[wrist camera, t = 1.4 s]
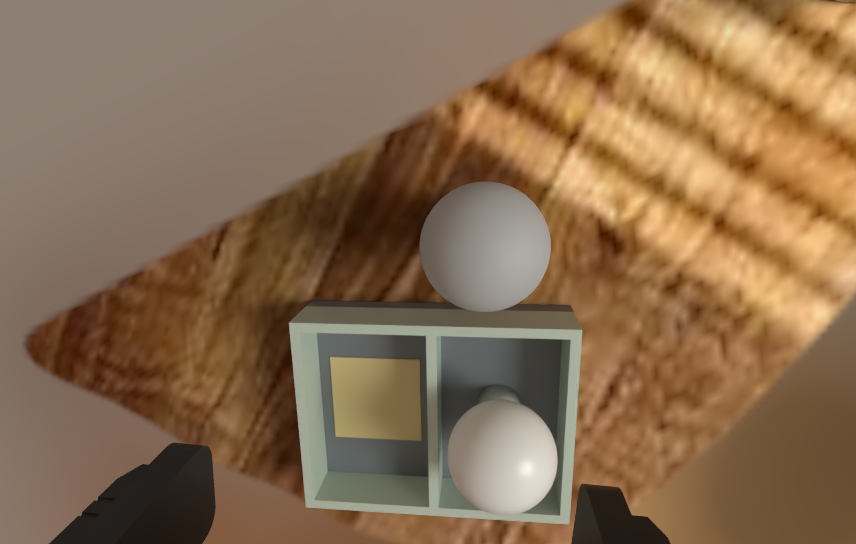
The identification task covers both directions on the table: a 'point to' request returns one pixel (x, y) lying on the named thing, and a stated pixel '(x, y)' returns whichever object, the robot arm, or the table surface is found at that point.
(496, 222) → the lightbulb
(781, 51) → the table surface
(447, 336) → the tray
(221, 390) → the table surface
